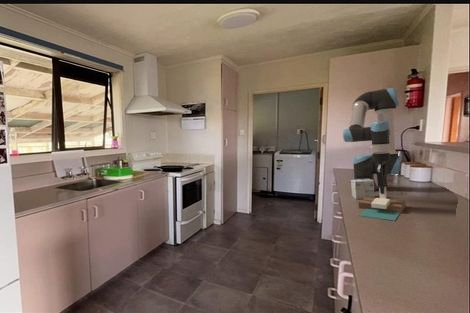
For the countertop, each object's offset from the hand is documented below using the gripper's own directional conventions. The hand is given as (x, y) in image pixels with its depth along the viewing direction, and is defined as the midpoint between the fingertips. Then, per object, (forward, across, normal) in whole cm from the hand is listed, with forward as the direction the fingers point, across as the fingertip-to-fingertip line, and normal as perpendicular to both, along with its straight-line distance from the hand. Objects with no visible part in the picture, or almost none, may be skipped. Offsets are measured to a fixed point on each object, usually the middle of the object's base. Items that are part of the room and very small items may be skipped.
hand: (383, 199), depth 116 cm
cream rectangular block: (+2, +5, 0) cm, 5 cm away
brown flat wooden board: (+4, -1, -1) cm, 5 cm away
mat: (+5, +11, 0) cm, 12 cm away
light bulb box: (+5, -17, -14) cm, 23 cm away
